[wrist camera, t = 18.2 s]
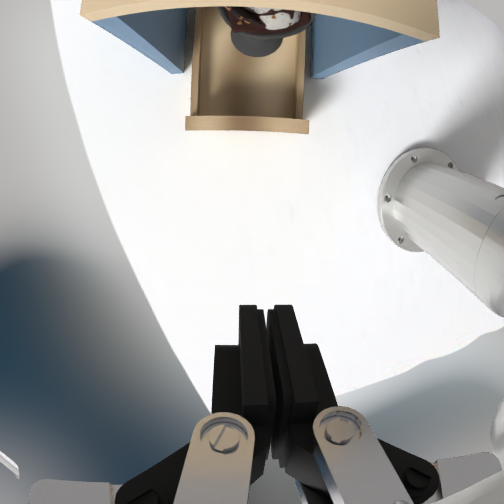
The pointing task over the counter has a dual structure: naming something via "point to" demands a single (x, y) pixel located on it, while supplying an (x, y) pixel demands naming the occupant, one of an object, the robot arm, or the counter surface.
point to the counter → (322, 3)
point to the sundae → (262, 27)
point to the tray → (244, 82)
